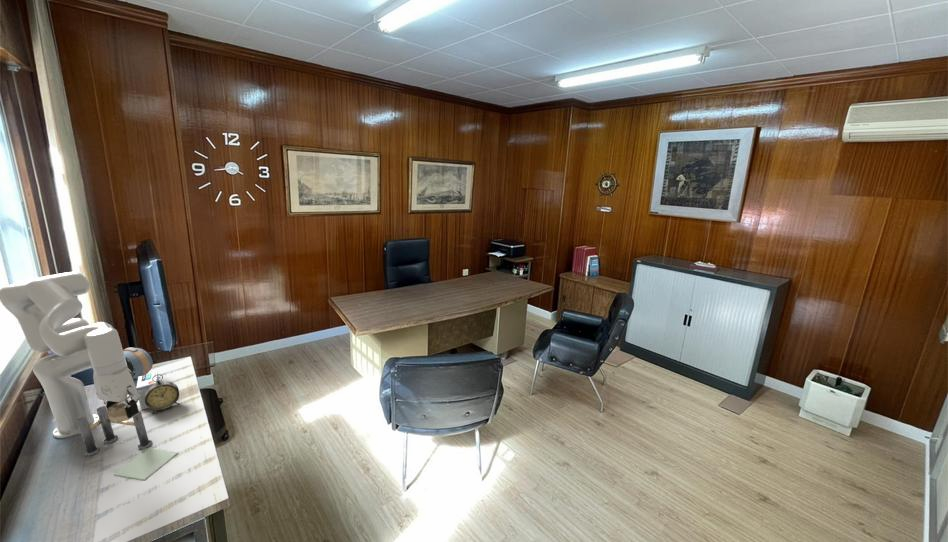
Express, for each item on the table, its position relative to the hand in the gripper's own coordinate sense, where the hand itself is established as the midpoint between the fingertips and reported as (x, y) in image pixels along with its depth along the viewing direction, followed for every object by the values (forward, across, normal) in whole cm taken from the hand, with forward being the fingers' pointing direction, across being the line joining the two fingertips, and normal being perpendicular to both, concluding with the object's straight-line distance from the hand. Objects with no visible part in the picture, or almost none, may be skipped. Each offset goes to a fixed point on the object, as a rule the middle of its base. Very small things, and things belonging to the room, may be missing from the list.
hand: (124, 413), depth 121 cm
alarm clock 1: (+20, -49, +40) cm, 66 cm away
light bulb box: (+20, -29, +30) cm, 46 cm away
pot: (+1, 0, 0) cm, 1 cm away
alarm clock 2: (+20, -19, +26) cm, 38 cm away
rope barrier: (+20, -13, +4) cm, 24 cm away
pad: (+20, +3, 0) cm, 20 cm away
